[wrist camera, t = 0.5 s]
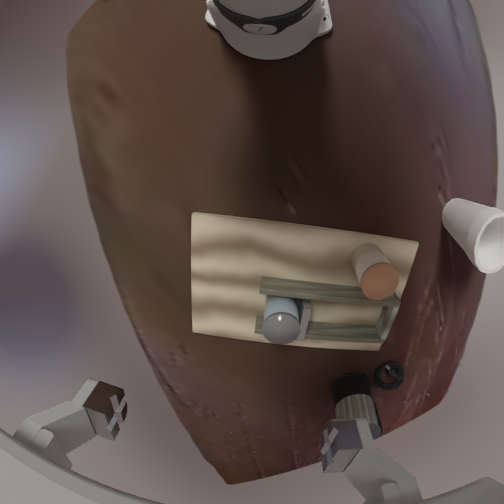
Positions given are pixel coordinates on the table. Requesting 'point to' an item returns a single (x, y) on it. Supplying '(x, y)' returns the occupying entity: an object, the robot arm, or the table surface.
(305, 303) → the pusher
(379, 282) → the jar
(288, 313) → the jar
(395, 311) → the cream rippled cloth
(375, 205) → the table surface
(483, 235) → the foam cup
